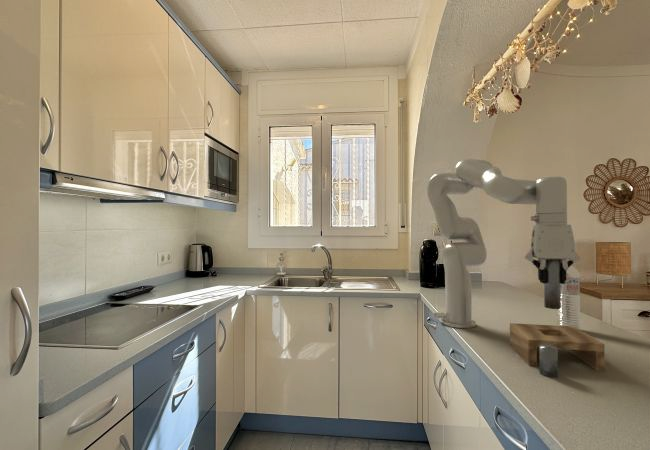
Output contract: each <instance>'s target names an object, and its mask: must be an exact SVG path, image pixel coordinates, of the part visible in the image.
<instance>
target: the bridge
mask: <svg viewBox="0 0 650 450" xmlns="http://www.w3.org/2000/svg"><path fill="white" fill-rule="evenodd" d="M540 344H548V345H553V346H556V347H557V348H558V350H567V351H569V352H570V353H572V354H573V355H575V356H576V357H577V358H579V359H580V360H581V361H583V362H584V363H585V364H587V365H588V366H589V367H591V368H592V369H594V370H595V371H601V372H605V369H606V368H605V367H606V365H605V364H606V363H605V360H606V359H605V357H606V356H605V354H606V353H605V352H606V351H605V343H603V342H602V341H600V340H599V339H596V338H595V337H593V336H592V335H590V334H588V333H586V332H584V331H583V330H581V329H580V330H579V329H577V328H576V327H574V326H558V325H554V324H552V325H551V324H532V323H529V324H528V323H509V345H510V346H509V347H511V348H512V349H513V350H514V351H515V353H517V355H518V356H520V357H521V359H522V360H523V361H524V362H525V363H526V364H527V365H528V366H532V367H533V366H534V367H537V366H538V363H537V361H538V358H537V357H538V356H537V355H538V354H537V353H538V352H537V349H538V348H539V345H540Z"/></svg>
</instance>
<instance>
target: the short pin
mask: <svg viewBox="0 0 650 450" xmlns="http://www.w3.org/2000/svg"><path fill="white" fill-rule="evenodd" d="M538 352H539V354H538V355H539V356H538V357H539V360H538V361H539V374H540V375H541V376H544V377H547V378H551V379H553V378H554V379H555V378H558V377H559V349H558V348H557V347H556V346H553V345H548V344H540V345H539V349H538Z"/></svg>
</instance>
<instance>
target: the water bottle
mask: <svg viewBox="0 0 650 450" xmlns="http://www.w3.org/2000/svg"><path fill="white" fill-rule="evenodd" d="M580 277H581V273H580V272H579V271H578V269H577V268H576V267H575V266H573V265H571V266H570V267H569V268H568V270H566V281H565V284H561V309H556V313H557V316H556V317H557V318H556V319H557V321H556V322H557V323H556V324H557V326H574V327H576V328H577V329H579V330H581V295H580V293H581V292H580V286H581V285H580Z"/></svg>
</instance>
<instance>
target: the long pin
mask: <svg viewBox="0 0 650 450" xmlns="http://www.w3.org/2000/svg"><path fill="white" fill-rule="evenodd" d="M545 270H547V283H546V284H544V283H543V295H544V296H543V304H544V308H545V309H550V310H551V309H552V310H557V309H561V275H560V259H546V263H545Z"/></svg>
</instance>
